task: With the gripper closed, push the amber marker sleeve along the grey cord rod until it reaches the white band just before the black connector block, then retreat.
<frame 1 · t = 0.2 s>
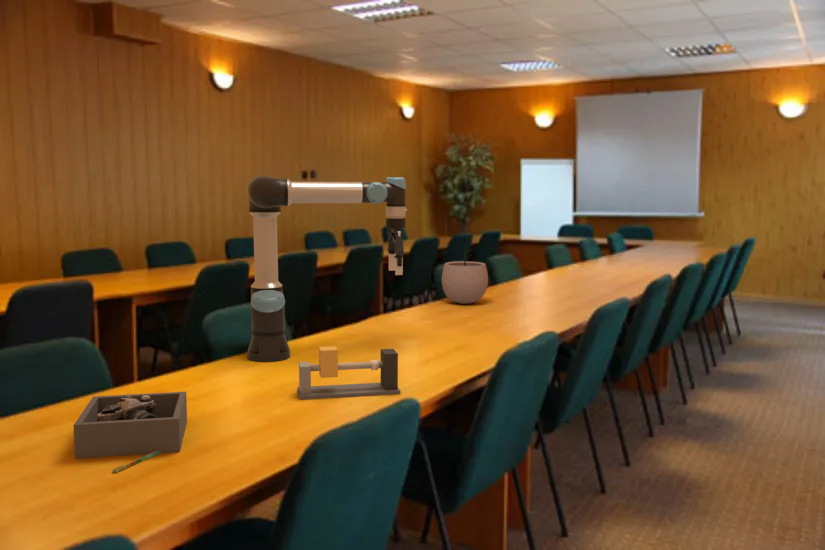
hand: (395, 272, 290), 28 cm above the table, fingers open, 13 cm apart
pencil: (144, 461, 172), on the table
plant pot: (464, 303, 389), on the table
open storage box: (135, 438, 185), on the table
sleeve: (328, 361, 224), point 10 cm above the table, slide at 0.0 cm
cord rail: (348, 392, 227), on the table
camera: (135, 439, 185), resting in open storage box
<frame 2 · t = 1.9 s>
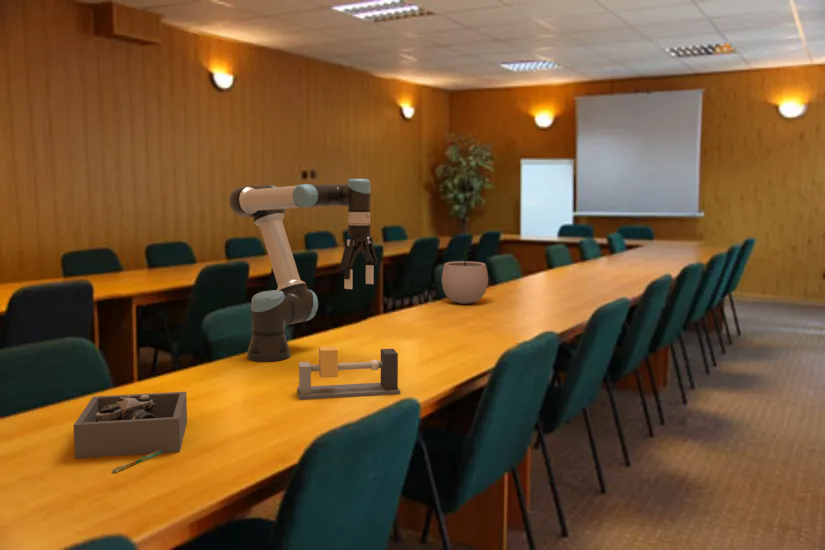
hand: (359, 286, 258), 27 cm above the table, fingers open, 13 cm apart
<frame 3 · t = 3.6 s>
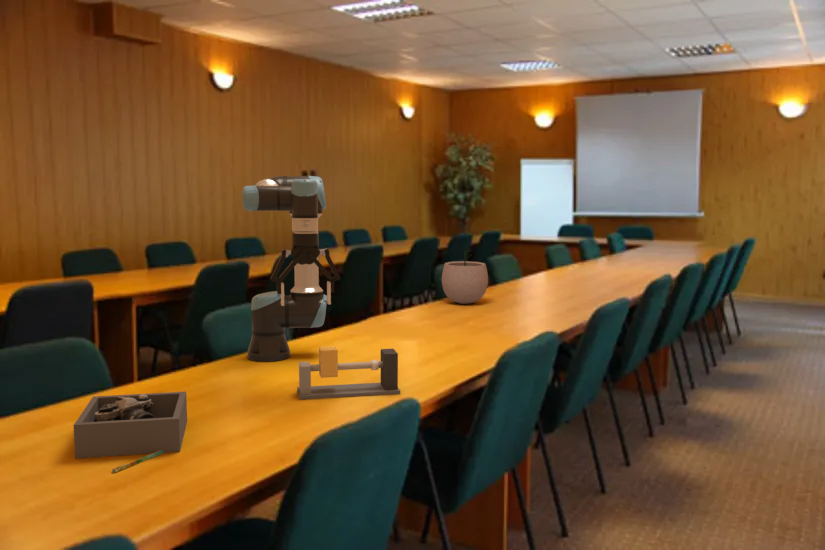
hand: (305, 304, 221), 27 cm above the table, fingers open, 13 cm apart
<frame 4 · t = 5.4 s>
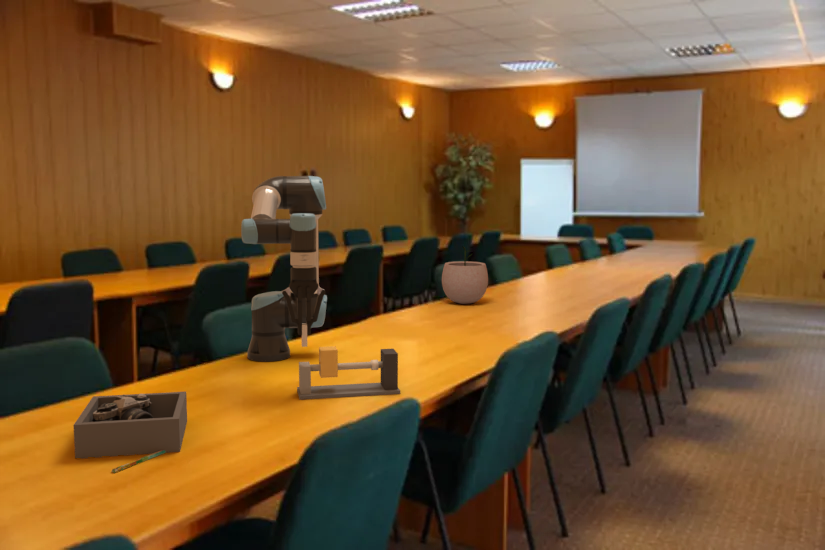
hand: (304, 345, 222), 15 cm above the table, fingers closed
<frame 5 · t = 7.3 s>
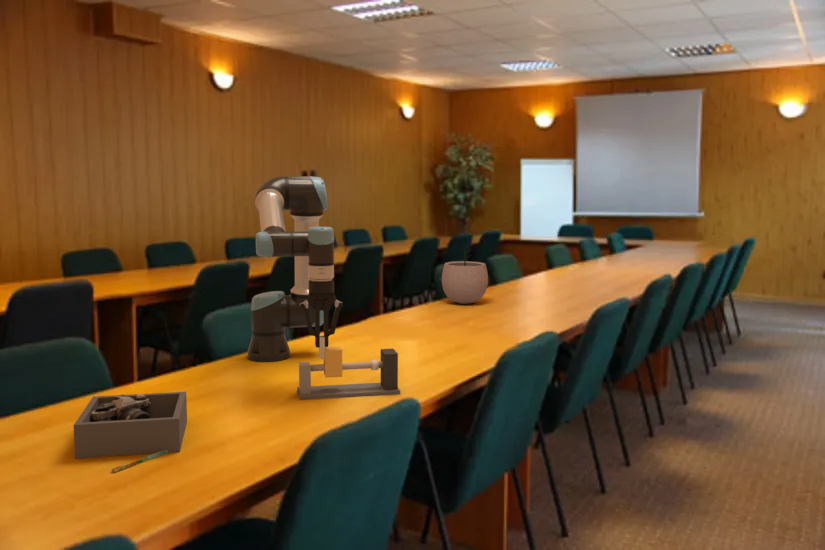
hand: (321, 357, 223), 11 cm above the table, fingers closed
sleeve: (332, 361, 224), point 10 cm above the table, slide at 1.4 cm, touching gripper
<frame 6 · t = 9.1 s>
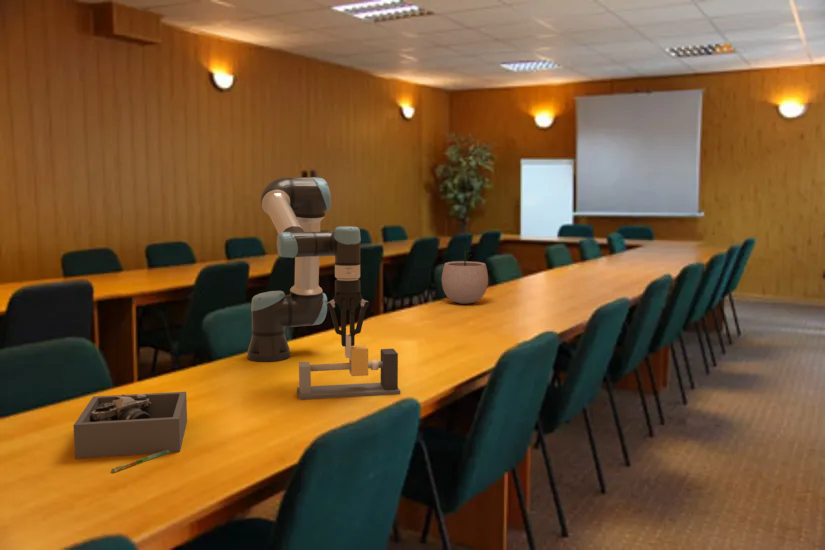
hand: (348, 356, 225), 11 cm above the table, fingers closed
sleeve: (358, 360, 226), point 10 cm above the table, slide at 9.2 cm, touching gripper
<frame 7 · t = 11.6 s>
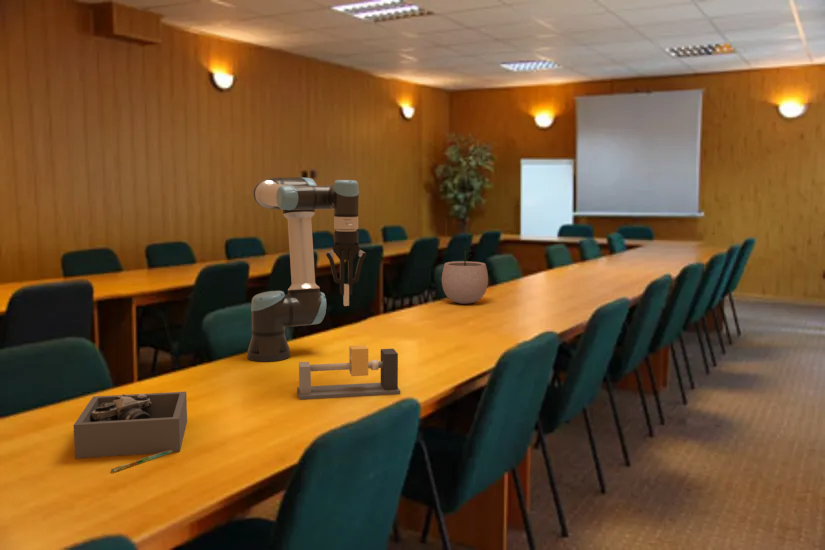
hand: (346, 305, 236), 25 cm above the table, fingers closed
sleeve: (358, 360, 226), point 10 cm above the table, slide at 9.2 cm
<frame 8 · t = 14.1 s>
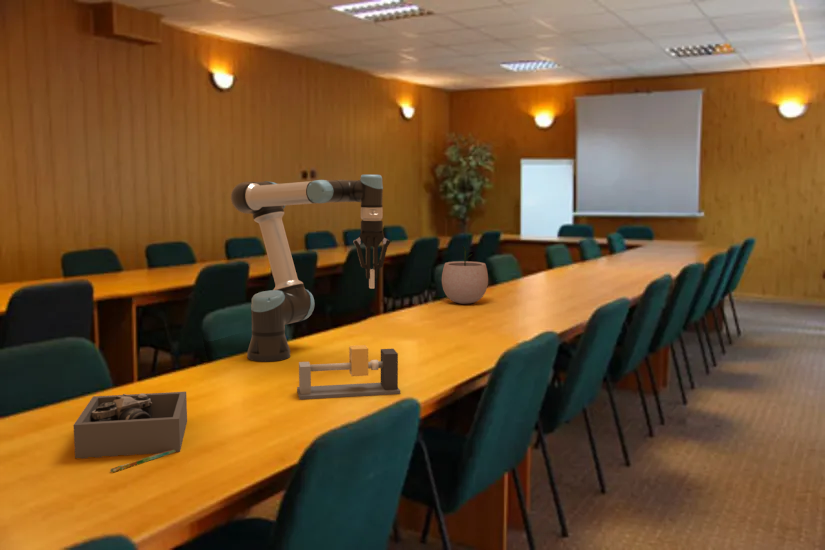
hand: (371, 287, 260), 26 cm above the table, fingers closed
at the end: sleeve slide at 9.2 cm; sleeve touching nothing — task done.
